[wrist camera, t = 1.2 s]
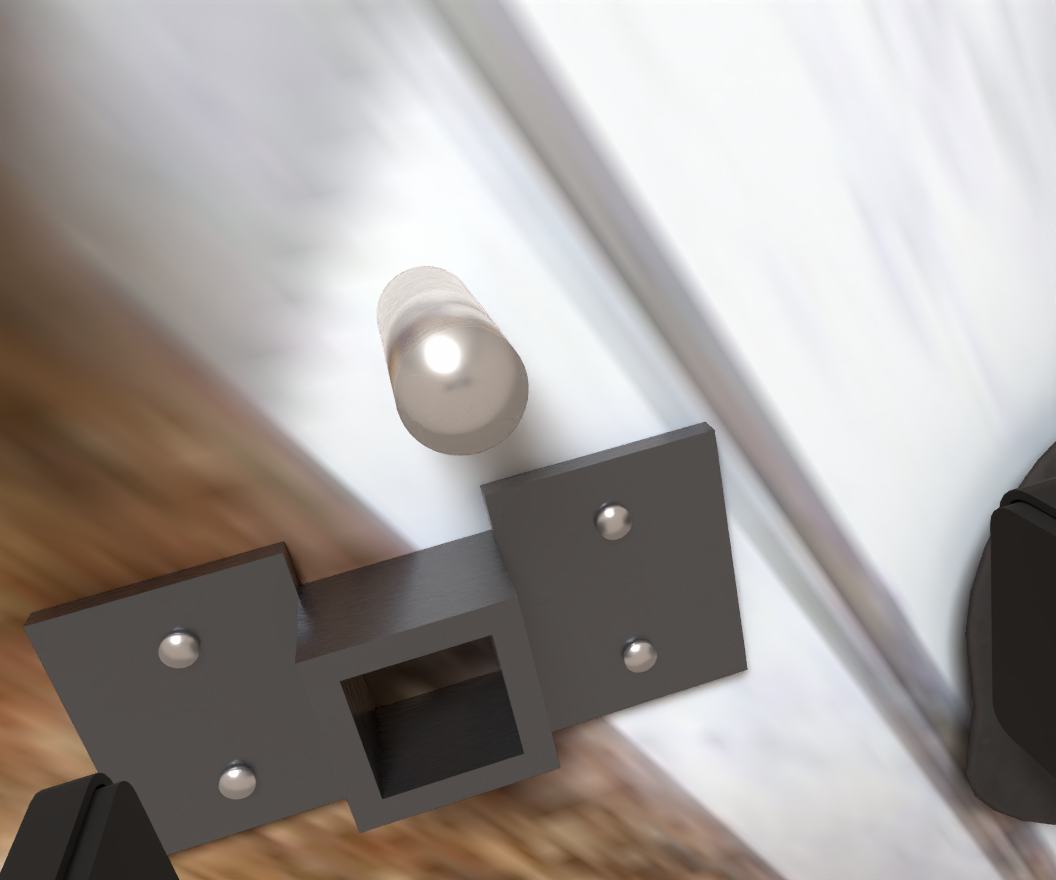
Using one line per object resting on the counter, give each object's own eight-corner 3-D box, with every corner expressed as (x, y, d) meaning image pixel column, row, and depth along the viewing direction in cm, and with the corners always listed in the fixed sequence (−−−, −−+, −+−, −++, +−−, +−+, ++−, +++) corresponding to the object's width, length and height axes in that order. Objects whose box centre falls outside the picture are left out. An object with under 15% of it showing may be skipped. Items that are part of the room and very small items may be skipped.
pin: (462, 255, 27) (512, 311, 19) (484, 348, 28) (540, 435, 21) (364, 280, 26) (379, 346, 19) (391, 373, 28) (414, 470, 20)
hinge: (704, 422, 30) (764, 471, 26) (738, 657, 34) (794, 732, 30) (31, 613, 28) (-21, 701, 24) (148, 844, 32) (122, 955, 28)
